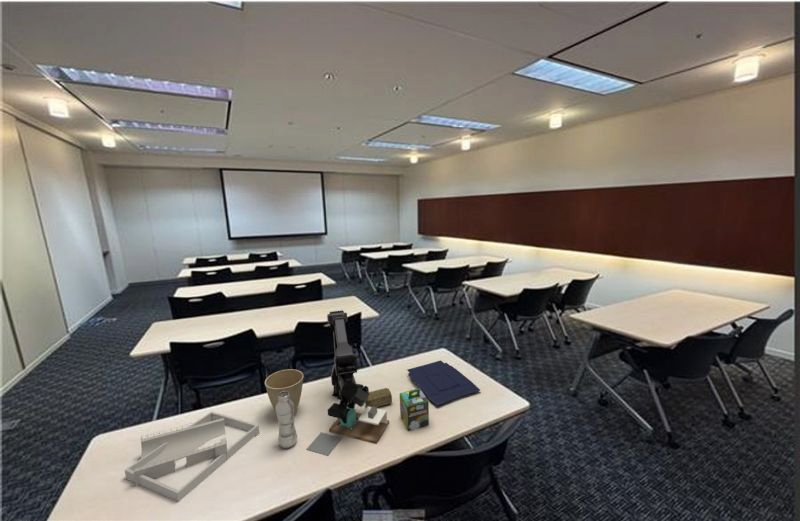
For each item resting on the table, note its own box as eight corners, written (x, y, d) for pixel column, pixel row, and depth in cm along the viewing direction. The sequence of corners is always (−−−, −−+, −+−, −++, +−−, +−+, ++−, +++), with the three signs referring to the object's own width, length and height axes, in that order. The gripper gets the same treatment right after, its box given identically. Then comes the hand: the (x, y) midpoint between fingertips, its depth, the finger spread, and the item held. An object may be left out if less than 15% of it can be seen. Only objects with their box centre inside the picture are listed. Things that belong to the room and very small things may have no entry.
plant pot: (272, 430, 122) (268, 393, 119) (265, 410, 134) (261, 375, 132) (310, 416, 130) (307, 380, 127) (300, 398, 142) (297, 365, 140)
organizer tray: (126, 480, 101) (124, 469, 100) (212, 420, 129) (211, 411, 128) (179, 504, 92) (177, 493, 91) (259, 434, 120) (258, 424, 119)
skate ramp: (224, 429, 123) (223, 407, 121) (227, 465, 107) (226, 440, 105) (143, 452, 110) (140, 427, 108) (132, 497, 94) (129, 469, 92)
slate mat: (306, 450, 112) (306, 449, 111) (321, 433, 120) (321, 432, 120) (328, 457, 108) (328, 455, 108) (341, 439, 117) (341, 437, 117)
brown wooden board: (329, 432, 120) (328, 428, 120) (345, 413, 131) (345, 409, 131) (376, 445, 113) (376, 441, 113) (389, 423, 124) (389, 420, 124)
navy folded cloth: (443, 364, 169) (443, 357, 169) (480, 395, 143) (481, 388, 142) (403, 375, 159) (403, 368, 158) (435, 411, 132) (435, 403, 132)
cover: (358, 431, 118) (358, 414, 116) (368, 418, 125) (367, 401, 124) (378, 436, 115) (377, 418, 114) (386, 422, 122) (386, 405, 121)
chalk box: (420, 412, 131) (420, 380, 128) (429, 427, 122) (429, 392, 120) (399, 418, 128) (398, 384, 125) (407, 433, 119) (406, 397, 117)
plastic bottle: (280, 453, 110) (275, 401, 107) (277, 441, 116) (272, 391, 113) (299, 447, 113) (294, 396, 110) (295, 435, 119) (291, 386, 116)
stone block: (393, 403, 136) (392, 393, 134) (367, 411, 132) (365, 401, 131) (389, 395, 141) (388, 385, 140) (364, 402, 138) (363, 392, 137)
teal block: (340, 427, 123) (339, 413, 122) (346, 420, 127) (345, 406, 126) (350, 430, 121) (349, 416, 120) (356, 422, 125) (355, 409, 124)
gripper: (352, 400, 110) (354, 440, 112) (375, 374, 127) (376, 409, 129) (325, 394, 114) (328, 433, 116) (351, 369, 131) (352, 403, 133)
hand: (348, 419), depth 124 cm, fingers closed on teal block, 4 cm apart
